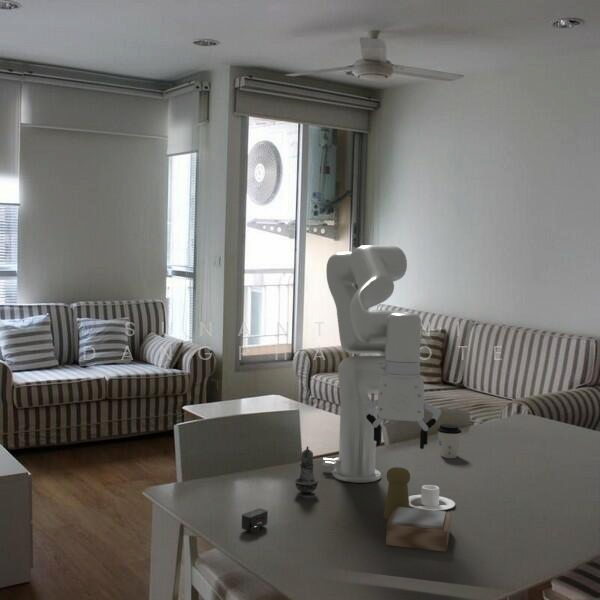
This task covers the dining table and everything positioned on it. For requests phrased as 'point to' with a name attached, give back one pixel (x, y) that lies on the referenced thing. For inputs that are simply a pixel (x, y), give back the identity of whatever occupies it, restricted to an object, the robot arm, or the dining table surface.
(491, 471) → the dining table surface
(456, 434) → the coffee cup
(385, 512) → the cork
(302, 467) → the dark grey tiered figure
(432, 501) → the candle holder
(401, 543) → the wooden framed mirror
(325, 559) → the dining table surface
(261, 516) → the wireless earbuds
